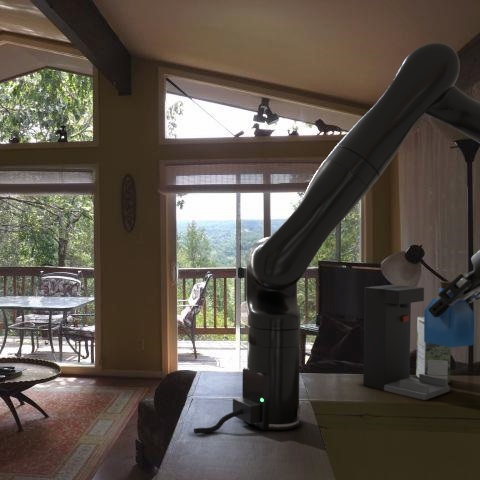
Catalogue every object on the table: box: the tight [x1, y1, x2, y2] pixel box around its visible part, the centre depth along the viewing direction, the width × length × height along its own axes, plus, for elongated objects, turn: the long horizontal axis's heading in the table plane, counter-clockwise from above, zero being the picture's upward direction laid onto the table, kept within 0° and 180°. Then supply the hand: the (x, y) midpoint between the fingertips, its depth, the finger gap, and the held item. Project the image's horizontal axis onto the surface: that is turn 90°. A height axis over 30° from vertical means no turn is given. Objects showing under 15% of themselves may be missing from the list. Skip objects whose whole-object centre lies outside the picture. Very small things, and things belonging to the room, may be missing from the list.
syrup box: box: [415, 316, 452, 384], centre depth 134 cm, size 6×6×14 cm
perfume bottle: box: [423, 281, 475, 348], centre depth 113 cm, size 6×6×12 cm
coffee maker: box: [362, 284, 451, 401], centre depth 126 cm, size 11×14×22 cm
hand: (441, 311), depth 114 cm, fingers closed on perfume bottle, 7 cm apart
